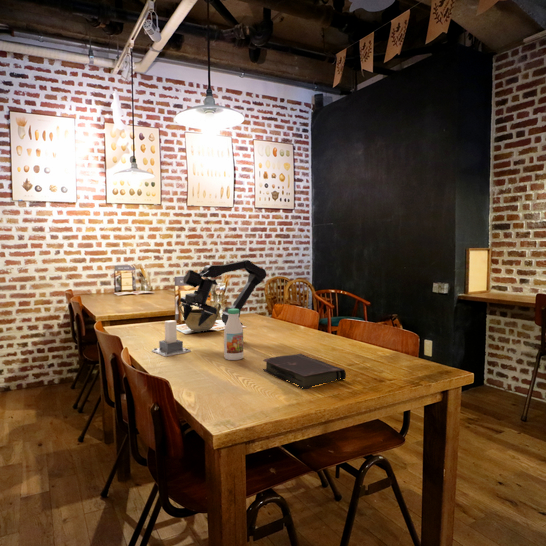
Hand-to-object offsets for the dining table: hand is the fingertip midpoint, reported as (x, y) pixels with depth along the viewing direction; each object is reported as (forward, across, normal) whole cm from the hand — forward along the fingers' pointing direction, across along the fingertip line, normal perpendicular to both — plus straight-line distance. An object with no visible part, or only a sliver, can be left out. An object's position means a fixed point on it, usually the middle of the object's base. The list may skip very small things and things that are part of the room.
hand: (191, 323), depth 196 cm
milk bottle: (+7, +32, -5) cm, 33 cm away
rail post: (+13, +3, -10) cm, 17 cm away
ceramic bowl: (+4, -17, +29) cm, 34 cm away
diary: (+4, +66, -11) cm, 67 cm away
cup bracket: (+14, +3, -9) cm, 17 cm away
